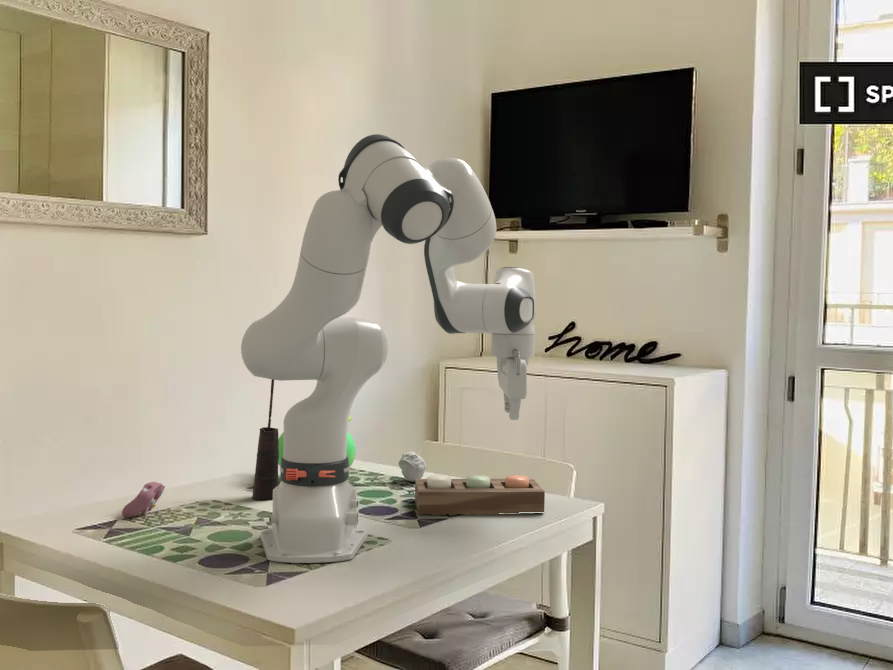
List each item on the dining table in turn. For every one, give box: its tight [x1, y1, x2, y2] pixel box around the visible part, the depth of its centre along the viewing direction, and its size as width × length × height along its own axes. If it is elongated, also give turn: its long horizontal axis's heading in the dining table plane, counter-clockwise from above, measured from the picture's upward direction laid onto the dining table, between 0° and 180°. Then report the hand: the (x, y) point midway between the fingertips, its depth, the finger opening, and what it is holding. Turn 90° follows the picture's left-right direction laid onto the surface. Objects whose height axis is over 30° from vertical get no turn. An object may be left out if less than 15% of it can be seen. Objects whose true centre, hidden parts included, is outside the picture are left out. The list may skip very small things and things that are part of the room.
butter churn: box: [252, 379, 280, 501], centre depth 186 cm, size 9×10×28 cm
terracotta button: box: [504, 474, 530, 488], centre depth 184 cm, size 5×5×2 cm
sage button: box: [466, 474, 491, 489], centre depth 183 cm, size 5×5×2 cm
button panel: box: [414, 478, 546, 516], centre depth 183 cm, size 12×25×4 cm, turn 96°
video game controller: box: [121, 481, 166, 518], centre depth 175 cm, size 10×5×7 cm, turn 1°
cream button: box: [426, 475, 452, 489], centre depth 182 cm, size 5×5×2 cm
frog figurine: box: [398, 451, 427, 483], centre depth 206 cm, size 6×7×7 cm
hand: (511, 415), depth 183 cm, fingers open, 8 cm apart
